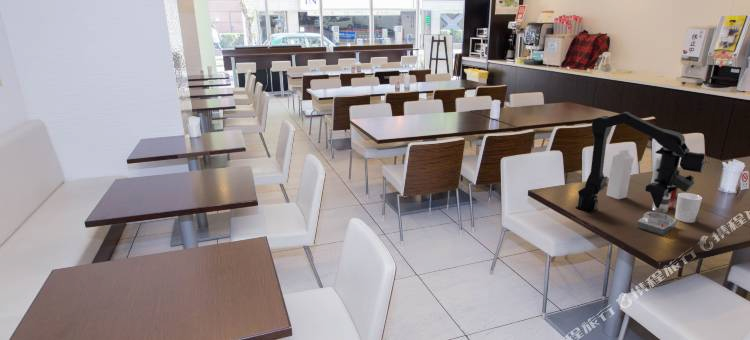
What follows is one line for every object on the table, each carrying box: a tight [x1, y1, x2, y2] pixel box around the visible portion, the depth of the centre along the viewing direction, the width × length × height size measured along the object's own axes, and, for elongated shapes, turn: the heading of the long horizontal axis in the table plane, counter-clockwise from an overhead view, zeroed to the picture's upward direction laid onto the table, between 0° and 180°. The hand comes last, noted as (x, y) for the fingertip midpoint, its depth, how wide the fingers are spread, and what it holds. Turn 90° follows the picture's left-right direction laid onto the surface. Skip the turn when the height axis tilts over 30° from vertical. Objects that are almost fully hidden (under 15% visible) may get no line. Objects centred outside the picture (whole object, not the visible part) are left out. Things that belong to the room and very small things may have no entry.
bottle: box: [650, 148, 667, 184], centre depth 203 cm, size 7×7×28 cm
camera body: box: [636, 211, 678, 236], centre depth 169 cm, size 9×12×4 cm
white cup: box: [674, 192, 703, 224], centre depth 175 cm, size 8×8×10 cm
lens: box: [651, 192, 671, 213], centre depth 166 cm, size 5×5×7 cm
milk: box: [606, 148, 634, 200], centre depth 198 cm, size 6×6×22 cm
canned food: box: [668, 186, 678, 211], centre depth 188 cm, size 8×8×11 cm
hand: (660, 206), depth 167 cm, fingers closed on lens, 5 cm apart
